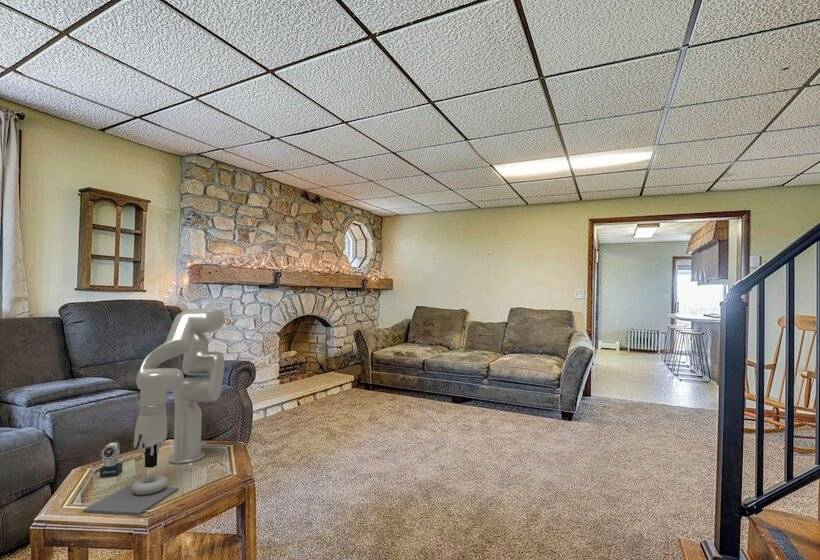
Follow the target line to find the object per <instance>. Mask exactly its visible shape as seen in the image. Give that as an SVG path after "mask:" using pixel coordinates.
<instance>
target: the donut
mask: <svg viewBox="0 0 820 560" xmlns="http://www.w3.org/2000/svg"><path fill="white" fill-rule="evenodd" d="M168 480H169V479H168V477H167V476H165V475H162V474H160V475H159V474H155V475H148V476H144V477H142V478H140V479H138V480H136V481H135V482H134V483H133V484H132V485H131V486H132V491H133V492H134V493H135V494H138V495H148V494H153V493H156V492H159V491H161V490H162V489H164V488H165V487H168V483H169V481H168Z"/></svg>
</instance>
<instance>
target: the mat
mask: <svg viewBox="0 0 820 560" xmlns="http://www.w3.org/2000/svg"><path fill="white" fill-rule="evenodd" d="M132 486H133V485H126V486H124V487H122V488H121V489H119V490H117V491H115V492H113V493H112V494H110V495H108V496H106V497H104V498H101V499H100V500H98V501H97V502H95V503H93V504H91V505H89V506H87V507H86V508H84V509H82V513H83V512H86V514H100V515H101V514H103V515H123V516H138V515H139V516H141V515H142V514H141V513H143V512H144V513H146V512H147V511H149V510H150V509H152V508H153V507H155V506H156V505H157V504H159V503H161V502H162V501H165V500H166V499H167V498H168V497H171V495H174V494H175V493H176V492H178V491H179V487H169V486H166V487H165V488H164V489H162V490H161V491H159V492H156V493H153V494H148V495H138V494H135V493H134V492H133V491H132ZM148 509H149V510H148ZM146 510H147V511H146ZM145 511H146V512H145ZM144 513H143V514H144ZM140 514H141V515H140Z"/></svg>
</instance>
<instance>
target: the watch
mask: <svg viewBox="0 0 820 560" xmlns="http://www.w3.org/2000/svg"><path fill="white" fill-rule="evenodd" d="M120 451H121V450H120V443H119V442H117V441H116V442H109V443H108V444H107V445H106V446H105V447H104V448H103V449H102V451H101V452H100V457H101V460H102V463H103V464H104V465H103V466H101V468H99V478H100V477H102V478H110V477H118V476H119V475H120V474H122V473H123V465H124V463H123V462H118V461H119V459H120V454H121V453H120Z"/></svg>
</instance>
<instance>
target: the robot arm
mask: <svg viewBox="0 0 820 560" xmlns="http://www.w3.org/2000/svg"><path fill="white" fill-rule="evenodd" d="M224 324H225V314H224V311H222V310H221V309H218V308H192V309H185V310H183V311H182V312H179V313H178V314H177V315H176V316H175V317H174V320H173V322H172V325H171V327H170V330H169V331H168V334H167V337H166V340H165V342H164V343H162V344H161V345H159V346H158V347H156V348H155V349H153V350H152V351H151V352H150V353H148V354H147V356H146V357H145V358H144V359H143V361H142V363H141V365H140V367H139V369H138V372H137V375H136V378H135V379H136V381H135V383H136V386H137V388H138V389H139V390H140V395H139V415H138V416H137V419H136V422H135V428H134V429H135V430H134V436H133V448H135V449H136V448H137V453H139V454H143V456H144V467H145V468H149V469H151V468H152V469H153V468H155V467H157V466H158V454H159V451H160V447H161V446H162V445H163V444H164V443H165V441H166V440H167V437H168V415H167V395H168V394H167V392H168V391H172V396H173V401H174V434H173V436H174V437H173V438H174V439H173V454H172V455H171V456H169V459H168V462H169V463H171V464H177V465H179V464H188V463H189V464H190V463H194V462H198V461H199V460H202V459H203V458H204V457H205V456H206V453H205V451H204V450H202V448H203V447H206V445H207V442H206V441H202V409H201V407H200V406H199V404H198V403H203V402H215V401H216V400H218V399H219V397H220V396H221V392H222V385H223V380H224V372H225V362H226V361H225V357H224V354H223V353H221V352H220V351H208V350H209V343H210V342H209V338H208V337H207V335H206V333H207V334H208V333H209V334H210V333H213V332H216V331H218V330H220V329H221V328H222V327H223V326H224ZM183 354H184V355H183ZM181 355H183V358H182V359H183V360H182V365H181V367H182V368H181V369H179V368H175V367H174V368H172V367H170V368H169V367H168V368H167V367H163V368H158V366H159V365H160V364H162V363H164V362H166V361H168V360H170V359H173V358H176V357H178V356H181ZM184 374H185V375H188V376H208V377H184Z"/></svg>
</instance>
